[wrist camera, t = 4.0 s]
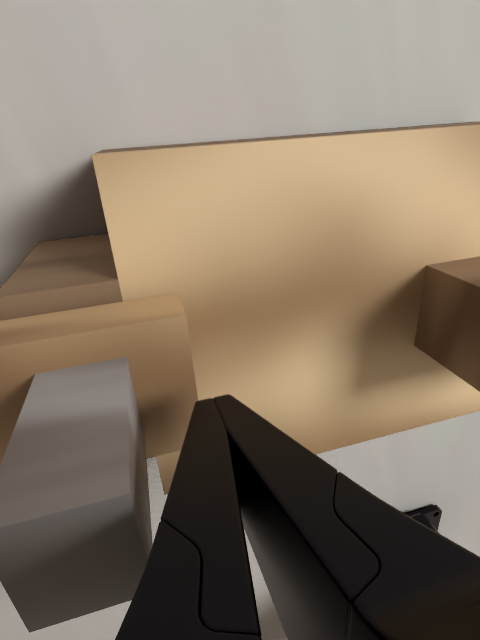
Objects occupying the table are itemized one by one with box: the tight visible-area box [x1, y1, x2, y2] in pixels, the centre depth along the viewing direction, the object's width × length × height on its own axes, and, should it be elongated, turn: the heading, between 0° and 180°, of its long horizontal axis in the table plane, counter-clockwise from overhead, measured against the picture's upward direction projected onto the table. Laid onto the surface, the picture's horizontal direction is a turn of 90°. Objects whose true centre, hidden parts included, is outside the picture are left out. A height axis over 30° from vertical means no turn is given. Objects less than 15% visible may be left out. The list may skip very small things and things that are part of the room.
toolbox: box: [0, 122, 480, 321], centre depth 15 cm, size 11×19×6 cm, turn 94°
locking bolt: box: [0, 293, 198, 632], centre depth 8 cm, size 4×7×6 cm, turn 94°
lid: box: [92, 124, 480, 495], centre depth 11 cm, size 11×16×5 cm
